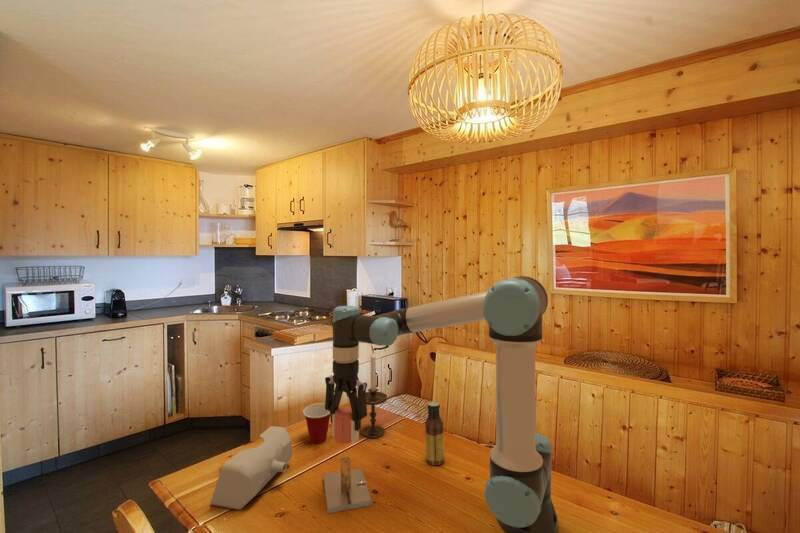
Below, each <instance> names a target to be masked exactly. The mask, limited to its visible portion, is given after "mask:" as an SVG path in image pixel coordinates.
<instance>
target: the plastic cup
mask: <svg viewBox="0 0 800 533" xmlns="http://www.w3.org/2000/svg"><path fill="white" fill-rule="evenodd" d="M302 414H303V416H304V417H305V421H306V427H307V432H308V437H309V441H310V443H312V444H314V445H317V444H318V445H319V444H322V443H325V441H326V439H327V436H328V430H329V426H330V425H329V424H330V420H331V413H330V411H329V410H326V409H325V402H323V403H322V402H317V403H312V404H310V405H308V406H306V407H305V408H303V411H302Z"/></svg>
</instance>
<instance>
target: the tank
mask: <svg viewBox="0 0 800 533" xmlns="http://www.w3.org/2000/svg"><path fill="white" fill-rule="evenodd" d="M259 438H260V439H262V440H263V442H262V443H261V444H259V445H258V446H256V447H253V448H248V449H247V448H246V449H241V450H240V451H239V452H237V453H236V454H234V455H233V456H232V457H230V459H228V460H227V461H225V463H224V464H223V466H222V468H221V470H220V471H219V476H218V478H217V482H216V485H215V488H214V491H213V493H212V497H211V499H210V505H212V506H216V507H220V508H221V507H222V508H227V509H234V510H238V511H240V510H242V509H243V508H244V507H245V506H246V505H247V504H248V503H249V502H251V501H252V499H253V498H255V497H256V495H257V494H259V492H260V491H261V490H262V489H263V488H264V487H265V486H266V485H267V484H268V482H270V481H271V480H272V479H273V477H275V475H277V473H285V472H286V471H287V467H288V464H287V463H288V462H289V461H290V460H291V459H292V457H293V456H292V455H293V440H292V438H291V436H290V434H289V432H288V430H287V428H286V427H284V426H283V427H282V426H275V425H271V426H269V427H268V428H267V429H266V430H265V431H263V432H262V433H261V434H260V435H259Z"/></svg>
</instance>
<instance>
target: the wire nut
mask: <svg viewBox="0 0 800 533" xmlns="http://www.w3.org/2000/svg"><path fill="white" fill-rule="evenodd" d="M352 419H353V414H352V409H351V406H342V407H339V408H338V409H337V410H335V437H334V441H335V442H336V443H339V444H342V445H343V444H351V443H352V442H351V420H352Z"/></svg>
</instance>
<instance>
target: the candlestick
mask: <svg viewBox="0 0 800 533" xmlns="http://www.w3.org/2000/svg"><path fill="white" fill-rule="evenodd" d="M370 347H371V351H372V353H371V355H370V388H368V389H367V391H366V403H367V406H371V409H370V410H371V411H370V413H369V414H368V415H369V416H370V420H369V422H370V424H371V425H367V426H364V427H363V428H361V431H360V432H361V436H362V437H363V438H365V439H369V440H376V439H380V438H382V437H384V436H385V433H386V432H385V430H386V429H385V428H384V427H382V426H379V425H376V421H377V419H376V417H377V414H378V413H377V412H376V411H375V409H376V405H382V404H384V403H386V402H387V400H388V395H387V394H386V393H384V392H381V391H379V388H376V355H375V352H374V351H375V349H374V347H373V344H370Z"/></svg>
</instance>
